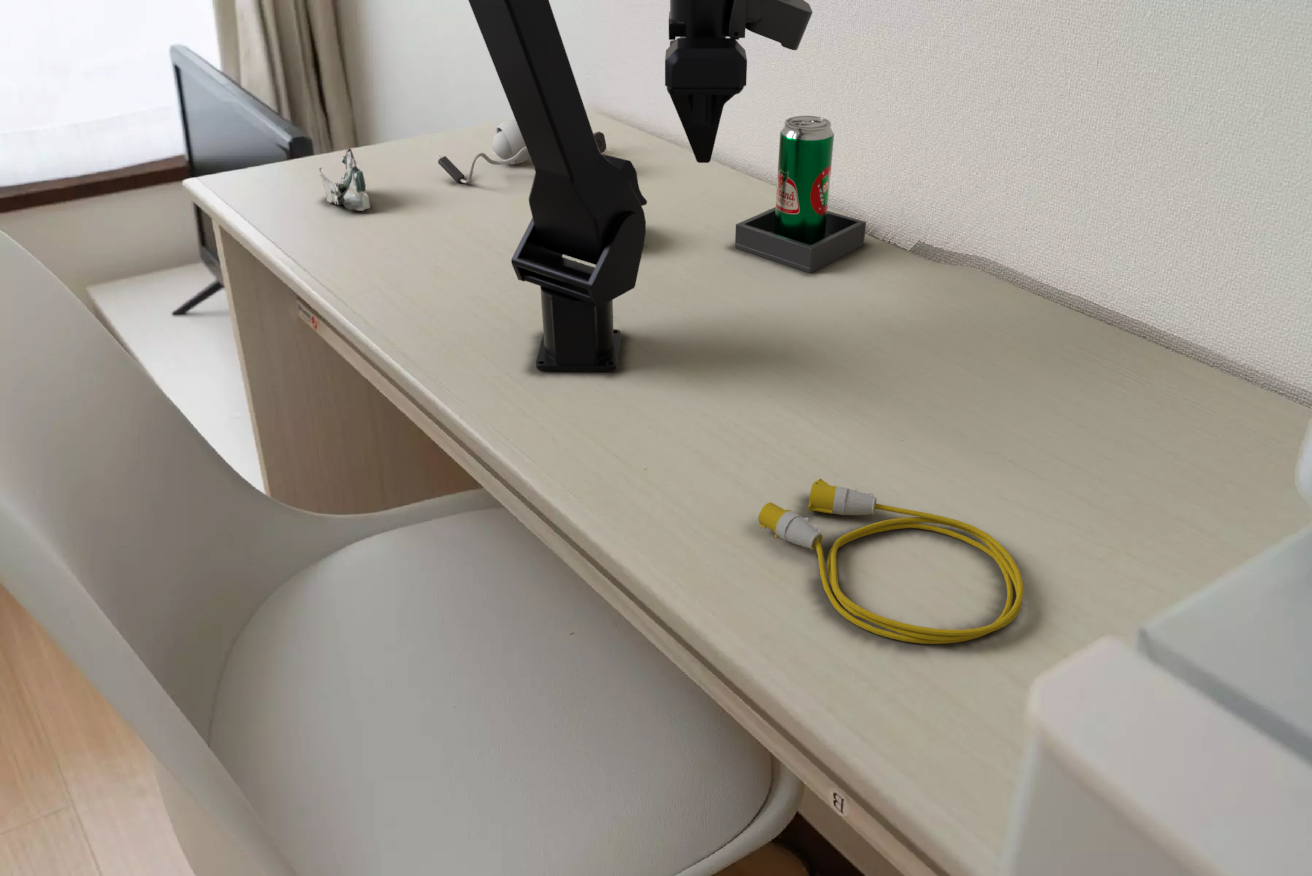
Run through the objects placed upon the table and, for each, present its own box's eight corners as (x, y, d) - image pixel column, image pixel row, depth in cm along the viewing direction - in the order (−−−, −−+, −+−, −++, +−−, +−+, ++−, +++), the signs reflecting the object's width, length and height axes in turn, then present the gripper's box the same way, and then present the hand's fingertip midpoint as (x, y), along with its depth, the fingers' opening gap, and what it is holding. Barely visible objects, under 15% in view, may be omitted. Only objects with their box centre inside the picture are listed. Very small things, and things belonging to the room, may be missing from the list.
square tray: (810, 273, 101) (812, 248, 100) (734, 247, 106) (735, 224, 105) (864, 245, 107) (866, 221, 105) (790, 222, 112) (791, 199, 111)
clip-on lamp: (474, 222, 120) (613, 164, 125) (459, 173, 116) (603, 114, 121) (439, 182, 128) (571, 129, 133) (423, 134, 124) (560, 81, 129)
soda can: (765, 236, 107) (772, 117, 101) (810, 230, 109) (820, 112, 102) (786, 255, 103) (794, 132, 97) (833, 248, 105) (844, 126, 98)
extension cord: (901, 473, 73) (905, 448, 72) (1065, 614, 61) (1072, 588, 60) (745, 518, 69) (746, 493, 68) (889, 680, 57) (893, 653, 56)
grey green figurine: (352, 190, 121) (342, 129, 117) (375, 211, 115) (365, 148, 111) (315, 197, 119) (303, 135, 115) (336, 219, 113) (325, 155, 110)
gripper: (821, -31, 76) (806, 182, 84) (799, -69, 91) (788, 113, 100) (664, -30, 76) (665, 182, 84) (669, -69, 92) (669, 113, 100)
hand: (703, 144), depth 92 cm, fingers open, 9 cm apart
